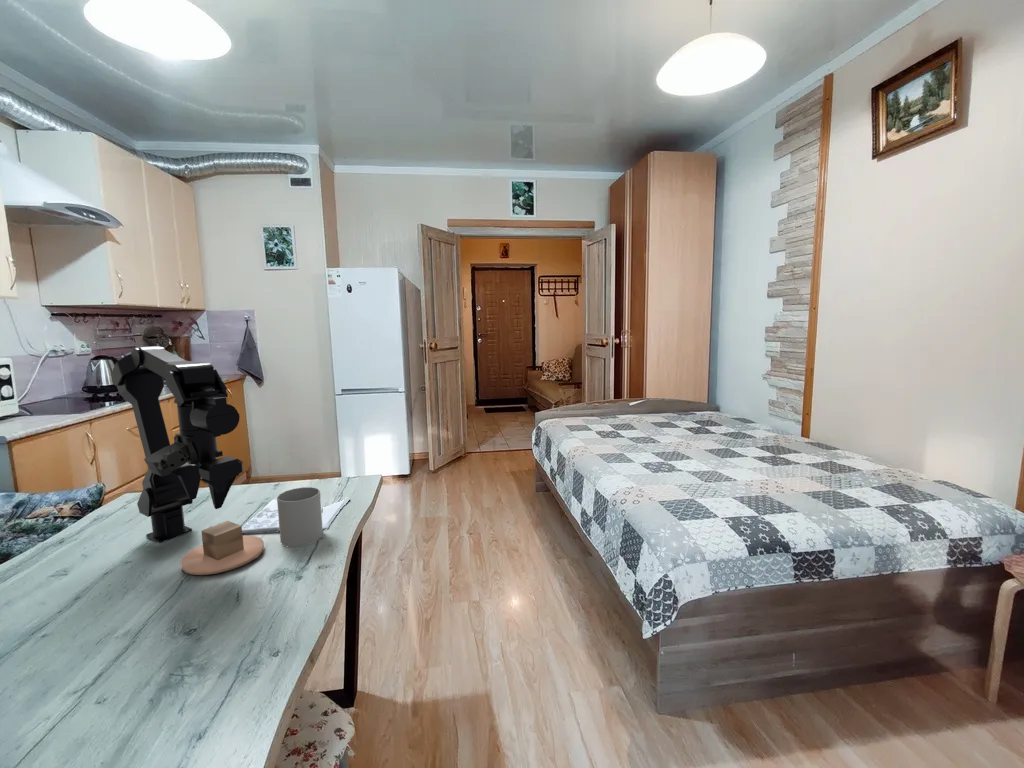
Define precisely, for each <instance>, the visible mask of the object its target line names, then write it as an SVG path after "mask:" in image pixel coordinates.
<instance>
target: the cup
mask: <svg viewBox="0 0 1024 768" xmlns="http://www.w3.org/2000/svg"><path fill="white" fill-rule="evenodd" d="M276 499H277V505H278V517H279V529H280V532H279V539H280V540H279V541H280V544H281V543H282V544H281V545H282V546H283V545H284V547H287V546H288V548H299V546H300V547H304V545H305V546H308V545H311V544H313V543H316V542H317V541H319V540H320V539H321V538H322V537H323V535H324V532H323V531H324V530H323V529H322V514H321V499H322V498H321V490H319V488H316V487H312V486H310V487H309V486H307V487H299V488H297V487H296V488H292V489H287V490H285V491H284V492H281V493H279V494H278V495H277V497H276ZM322 534H323V535H322ZM315 541H316V542H315Z"/></svg>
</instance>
